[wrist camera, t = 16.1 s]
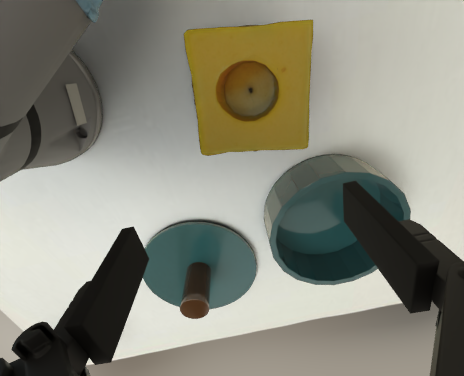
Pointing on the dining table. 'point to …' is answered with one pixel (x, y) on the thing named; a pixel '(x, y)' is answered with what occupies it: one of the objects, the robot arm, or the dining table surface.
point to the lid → (199, 267)
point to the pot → (324, 219)
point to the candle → (251, 86)
